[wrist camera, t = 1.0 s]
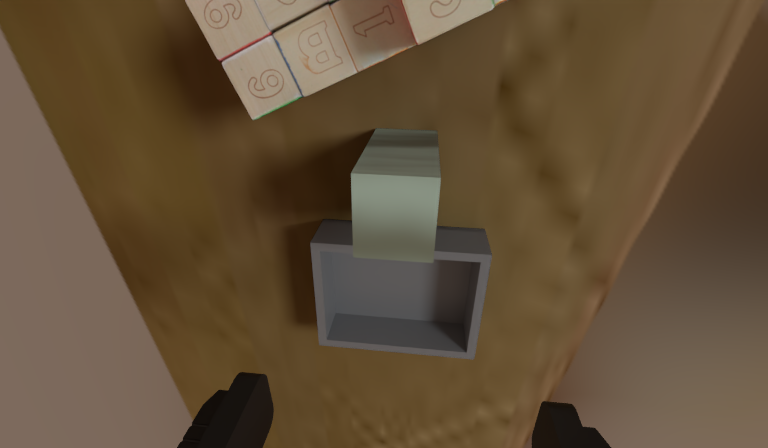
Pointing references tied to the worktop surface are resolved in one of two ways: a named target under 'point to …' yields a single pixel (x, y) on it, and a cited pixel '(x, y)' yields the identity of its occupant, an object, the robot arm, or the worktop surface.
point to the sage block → (396, 196)
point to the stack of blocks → (316, 40)
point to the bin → (401, 294)
